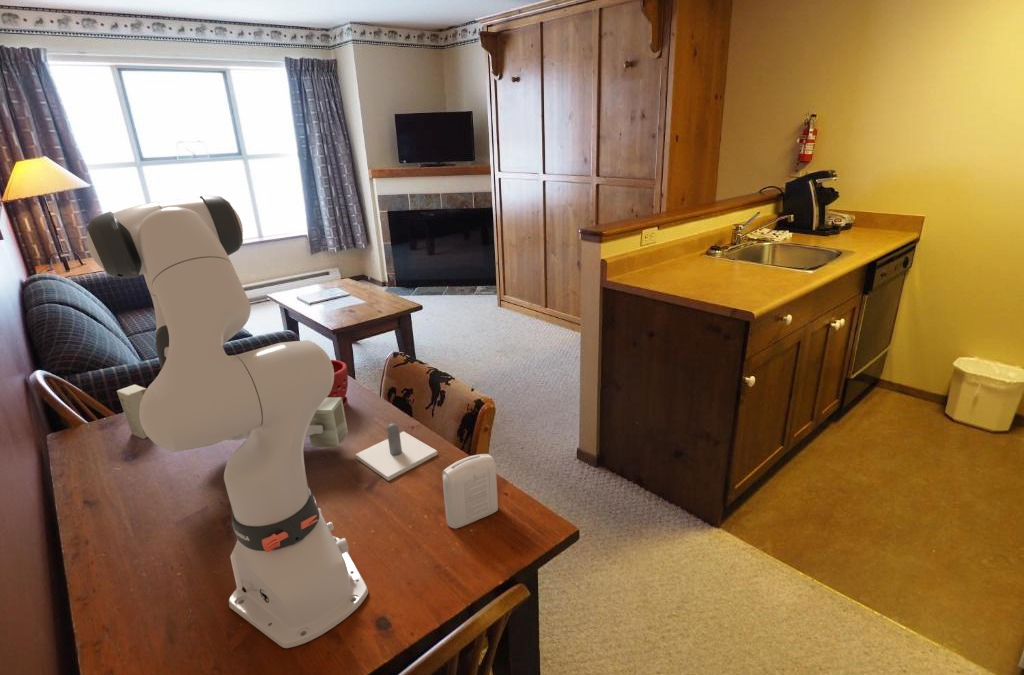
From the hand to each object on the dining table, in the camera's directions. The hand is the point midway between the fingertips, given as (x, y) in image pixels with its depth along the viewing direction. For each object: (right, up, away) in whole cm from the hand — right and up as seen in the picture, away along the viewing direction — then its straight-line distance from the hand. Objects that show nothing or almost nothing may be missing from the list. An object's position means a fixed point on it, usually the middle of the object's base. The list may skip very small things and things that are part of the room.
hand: (330, 419), depth 119 cm
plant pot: (-9, -1, +26) cm, 27 cm away
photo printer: (+33, -16, -18) cm, 40 cm away
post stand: (+14, -9, +2) cm, 17 cm away
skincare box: (-52, -6, +17) cm, 56 cm away
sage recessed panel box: (-1, -5, +2) cm, 5 cm away
